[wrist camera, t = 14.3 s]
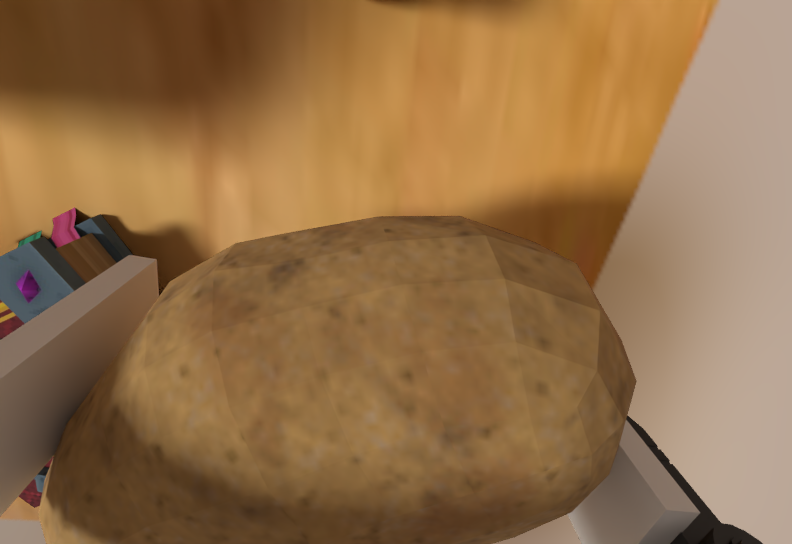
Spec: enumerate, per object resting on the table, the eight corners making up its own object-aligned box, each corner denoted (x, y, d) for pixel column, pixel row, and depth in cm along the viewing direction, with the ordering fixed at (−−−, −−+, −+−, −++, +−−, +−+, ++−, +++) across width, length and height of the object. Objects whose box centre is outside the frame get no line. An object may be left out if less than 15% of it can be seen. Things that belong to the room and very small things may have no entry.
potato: (85, 285, 12) (-318, 557, 5) (480, 104, 11) (715, 125, 3) (248, 458, 16) (156, 741, 9) (550, 346, 15) (721, 584, 8)
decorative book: (125, 468, 25) (72, 545, 21) (-88, 279, 19) (-232, 333, 14) (267, 412, 24) (243, 482, 20) (90, 190, 18) (-6, 218, 13)
